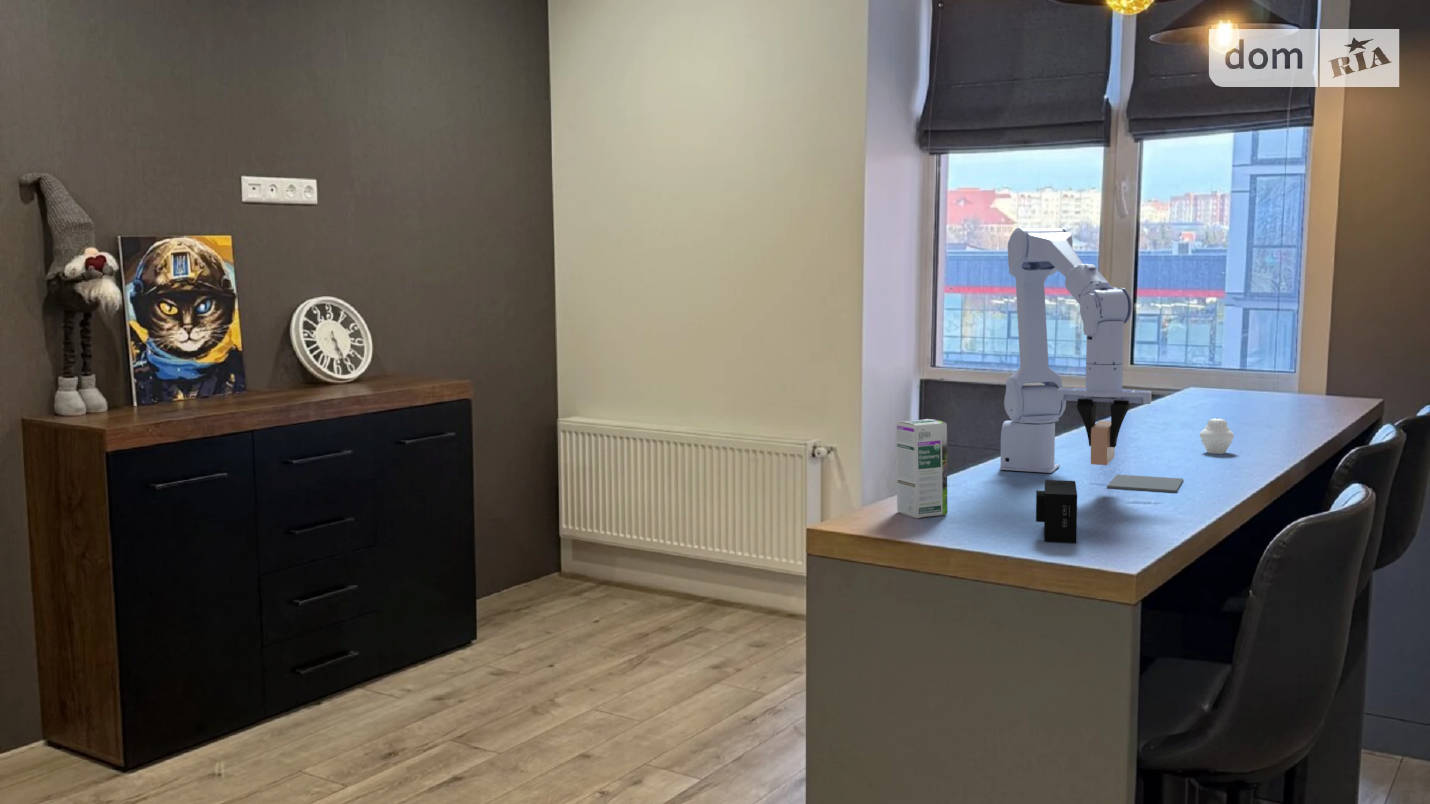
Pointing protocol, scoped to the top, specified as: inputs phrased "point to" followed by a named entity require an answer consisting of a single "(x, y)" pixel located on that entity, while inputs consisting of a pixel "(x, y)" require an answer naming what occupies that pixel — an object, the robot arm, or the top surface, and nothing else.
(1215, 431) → the muffin
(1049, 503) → the digital camera
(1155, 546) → the top surface
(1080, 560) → the top surface
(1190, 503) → the top surface
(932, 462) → the syrup box
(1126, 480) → the mat
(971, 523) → the top surface
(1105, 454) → the block
